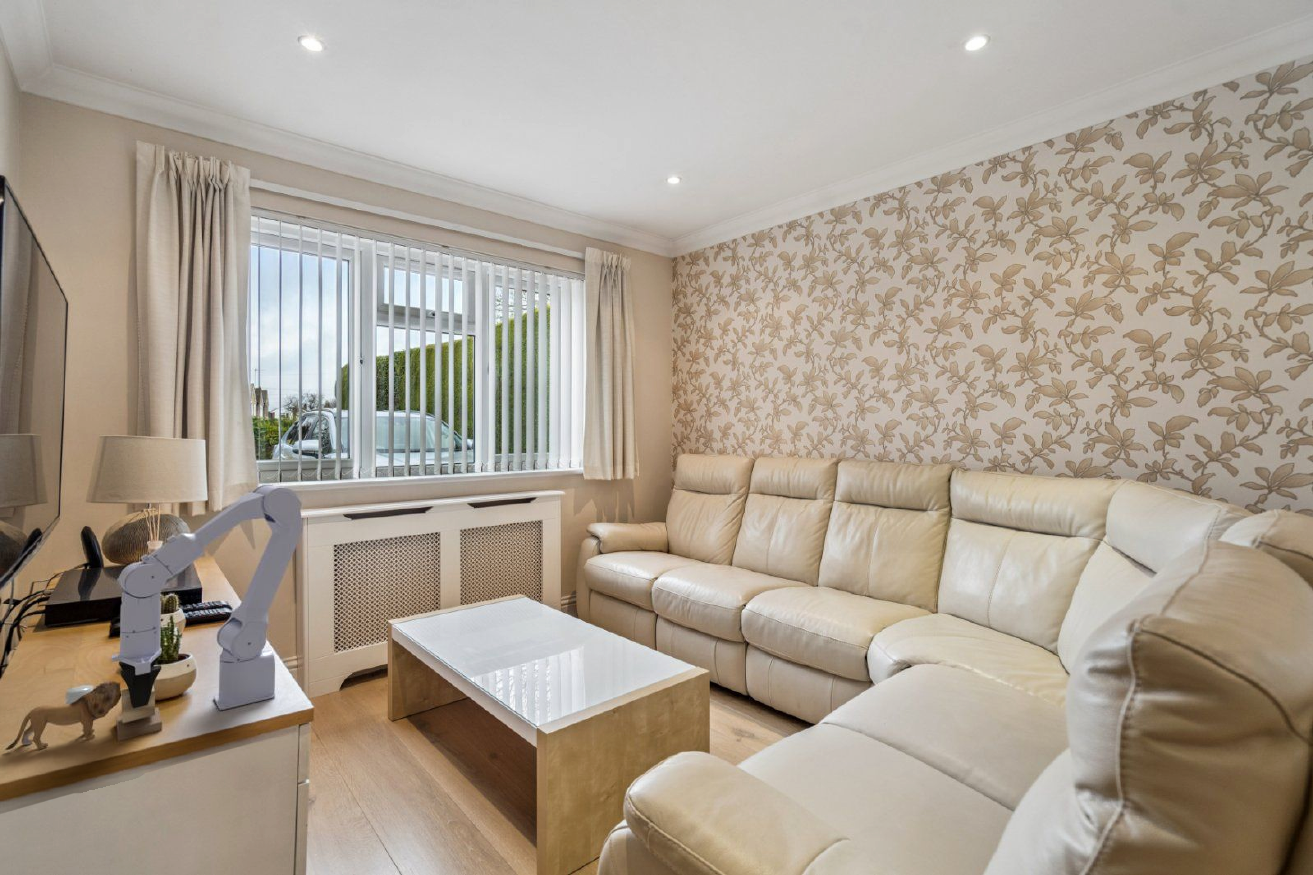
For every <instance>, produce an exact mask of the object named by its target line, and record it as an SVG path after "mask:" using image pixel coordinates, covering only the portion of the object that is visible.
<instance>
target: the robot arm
mask: <svg viewBox="0 0 1313 875" xmlns="http://www.w3.org/2000/svg"><path fill="white" fill-rule="evenodd" d="M302 505H303V503H302V501H301V500H300V498H299V497H298V495H297V494H296V493H295V491H294V490H292V489H291V488H288V487H281V486H275V485H273V484H262V485H260V486H257V487H255V489H253V490H252V491H249V492H248V493H246V494H244V495H242V496H241V497H240V498H238V499H237V500H236V501H235V502H234V503H231V505H229V506H228V507H226V508H225V509H224V510H222V511H221V512H220V513H218V514H217V515H216V516H214V517H213V518H212V519H210V520H208V521H207V522H206V523H205V524H204V525H203V524H202V526H201V527H200V528H198V529H197V530H195V531H193V532H192V533H182V532H181V533H180V534H178V535H173V534H172V535H170V536H168V538H166V541H167V542H166V543H165V544H163V545H161V546H159V548H157V549H156V550H154V551H152V552H151V553H150V554H143V555H142V556H141V557H140V560H142V561H138V562H133V563H130V564H128V565H127V566H126V567H124V569H122V570H121V572H120V574H119V576H118V578H117V579H116V583H117V585H118V587H119V588H120V589H121V590H123V591H122V592H121V604H120V617H119V618H120V621H119V622H120V624H119V625H120V626H119V627H120V629H119V631H120V633H119V653H118V654H117V653H116V654H113V655H111V656H110V660H111V662H112V663H115V662H118V665H119V667H120V668H121V669H122V670H120V677H121V678H122V681H124V682H125V685H126V686H127V689H128V690H129V694H130V700H131V704H132V707H133V708H137V707H142V706H146V705H148V703H149V700H150V696H151V692H152V688H153V685H154V684H155V681H156V680H157V677H158V675H159V674H160V672H161V670H162V665H160V664H159V665H155V664H156V662H157V661H158V659H159V656H160V655H161V654H162V647H161V627H162V626H161V625H162V624H161V622H162V618H161V617H162V601H161V591H162V590H163V589H164V588H165V586H166V584H167V581H168V580H169V579H172V578H173V577H174V576H176V575H177V574H179V573H180V572H181V571H183V570H185V569H186V568H187V567H188V566H190V565H191V564H192V563H194V562H195V561H197V560H198V559H200V558H201V557H203V556H204V553H205V549H206V546H207V545H209V544H210V543H212V542H213V541H216V539H218V538H220V537H221V536H223V535H224V534H226V533H227V532H229V531H230V530H232V529H233V528H235V527H237V526H238V525H239V524H241V523H243V522H245V521H248V520H249V521H250V520H259V519H264V520H265V522H266V523H267V525H268V526H269V528H270V530H271V532H272V533H271V536H270V538H269V539H268V542H267V544H266V547H265V549H264V552H263V554H262V556H261V557H260V560H259V562H258V564H257V566H256V569H255V571H254V574H253V575H252V578H251V581H250V582H249V585H248V586H247V589H246V592H245V594H244V596H243V598H242V600H241V602H240V605H238V606H237V607H236V608H235V609H234V610H233V611H231V614H230V616H229V618H228V619H227V621H226V622H225V623H223V624H222V625H221V626H220V628H219V629H218V630H217V634H216V641H217V642H216V643H217V644H218V646H220V647H221V649H222V650H221V653H220V655H219V672H218V674H219V675H218V678H219V679H218V694H215V695H214V696H213V699H214V701H215V703H216V705H217V707H218V710H220V711H224V710H228V709H232V708H237V707H240V706H244V705H247V704H253V703H257V702H261V701H264V700H268V699H272V698H273V699H274V698H275V697H276V693H275V692H276V691H275V690H276V689H275V688H276V686H275V685H276V683H275V682H276V679H275V678H276V677H275V676H276V662H275V661H276V660H275V654H274V651H273V650H271V649H269V650H264V648H265V646H266V644H267V630H268V627H269V624H270V623H269V610H270V608H271V606H272V604H273V601H274V598H275V596H276V594H277V592H278V590H279V587H280V584H281V583H282V580H283V579H284V576H285V573H286V571H287V568H288V567H289V564H290V562H291V559H292V558H293V554H294V552H295V550H296V548H297V545H298V543H299V540H300V538H301V536H302V534H303V530H304V526H303V520H302V511H301V508H302Z"/></svg>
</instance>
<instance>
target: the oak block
mask: <svg viewBox="0 0 1313 875" xmlns="http://www.w3.org/2000/svg"><path fill="white" fill-rule="evenodd" d="M155 691H156V690H155V686H154V684H153V688H152V692H151V696H150V700H149V703H148V705H146V706H142V707H137V708H133V707H132V704H131V700H130V694H129V690H128V688H125V689H121V715H122V723H125V722H129V721H133V720H137V719H141V718H145V717H149V716H153V715H155V708H156V692H155Z"/></svg>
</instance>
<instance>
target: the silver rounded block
mask: <svg viewBox="0 0 1313 875" xmlns="http://www.w3.org/2000/svg"><path fill="white" fill-rule="evenodd" d="M93 689H94V686H93V685H91V684H89V685H88V684H85V685H79V686H75V687H71V688H69V689H67V690H66V691H65V704H71V703H73V702H75V701H77V700H78V699H79V698H80V697H81V696H83V695H85V694H87V693H89V692H91V691H93Z"/></svg>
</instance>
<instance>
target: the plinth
mask: <svg viewBox="0 0 1313 875" xmlns="http://www.w3.org/2000/svg"><path fill="white" fill-rule="evenodd" d="M115 717H116V719H115V721H116V722H115V723H116V732H117V733H116V734H117V741H123V740H128V739H131V738H135V737H140V736H142V735H146V734H150V733H155V732H158V731H162V730H163V719H162V717H161V714H160V709H159V707H158V706H157V707H156V706H155V715H153V716H149V717H145V718H141V719H137V720H133V721H129V722H125V723H122V714H121V715H117V716H115Z"/></svg>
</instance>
